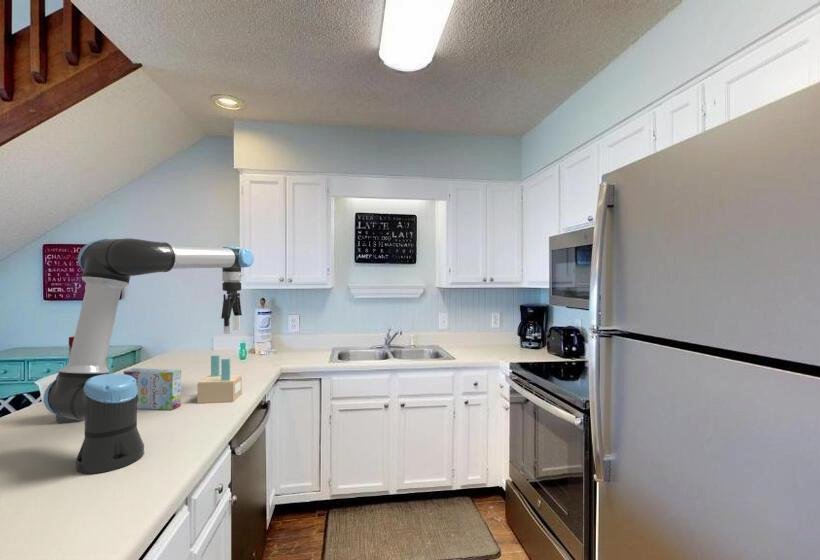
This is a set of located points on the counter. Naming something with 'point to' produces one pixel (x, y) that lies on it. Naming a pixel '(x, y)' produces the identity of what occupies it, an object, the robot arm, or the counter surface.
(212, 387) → the carton
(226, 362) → the flap near
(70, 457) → the counter surface
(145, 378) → the snack box
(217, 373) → the flap far
